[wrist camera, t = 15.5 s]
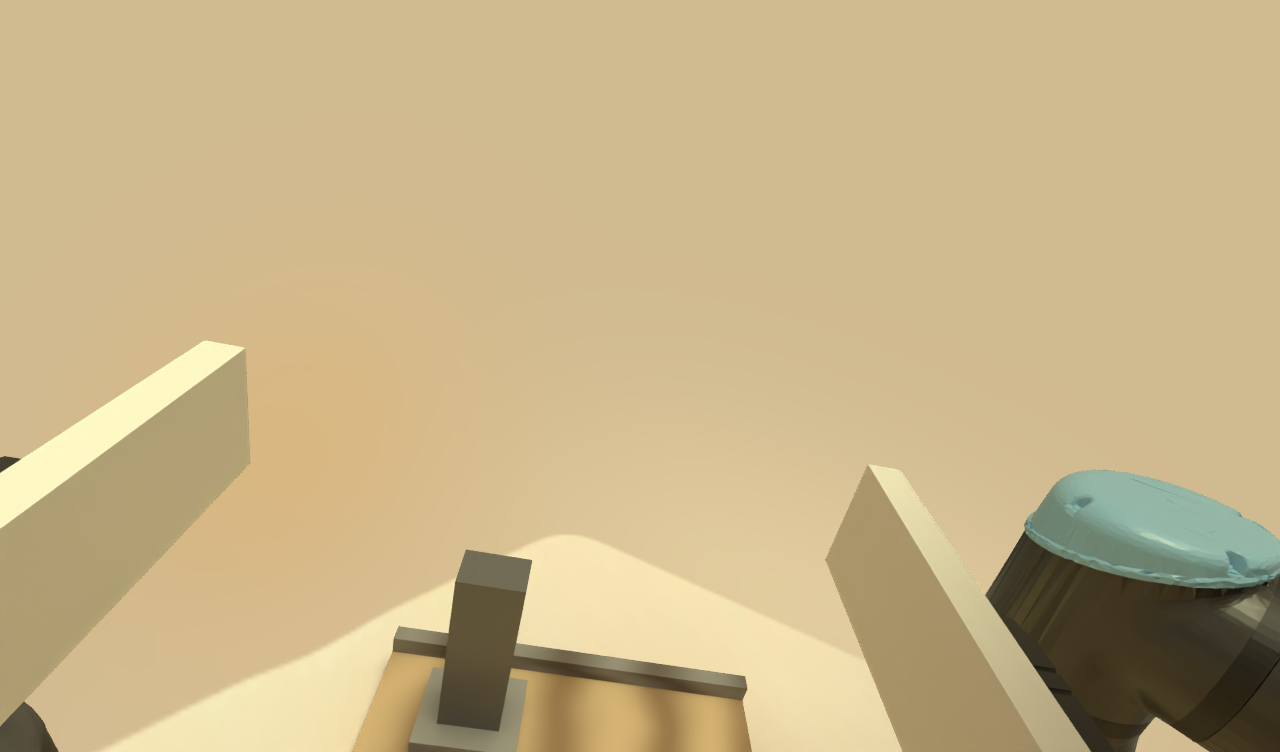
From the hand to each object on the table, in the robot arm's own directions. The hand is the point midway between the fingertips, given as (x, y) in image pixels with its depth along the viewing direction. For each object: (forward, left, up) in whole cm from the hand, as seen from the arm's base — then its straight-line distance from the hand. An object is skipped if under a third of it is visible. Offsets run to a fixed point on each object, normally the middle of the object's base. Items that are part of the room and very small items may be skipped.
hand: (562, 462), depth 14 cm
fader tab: (+2, -15, -29) cm, 33 cm away
